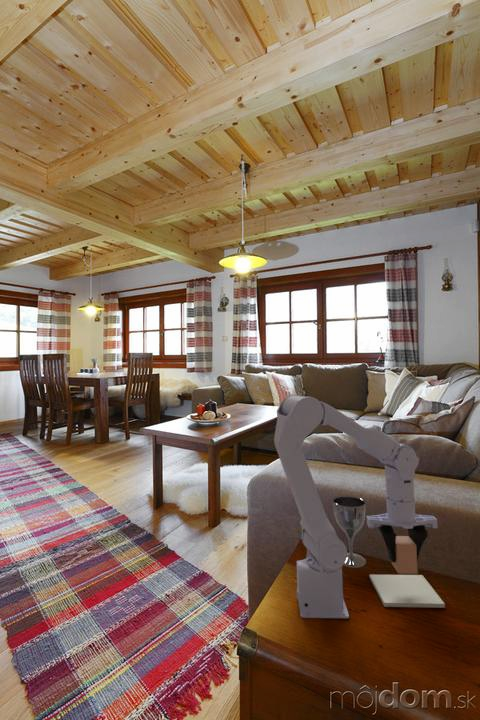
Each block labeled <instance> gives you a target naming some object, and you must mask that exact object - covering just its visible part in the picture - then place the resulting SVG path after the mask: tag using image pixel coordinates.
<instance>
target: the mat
mask: <svg viewBox="0 0 480 720" xmlns="http://www.w3.org/2000/svg"><path fill="white" fill-rule="evenodd" d="M369 579H370V581H371V584H372V586H373V587H374V589H375V591H376V593H377V595H378V597H379V599H380V600H381V603H382V605H383V606H384V608H385V607H386V608H390V607H391V608H437V609H438V608H439V609H440V608H443V609H445V608H446V604H445V602H444V601H443V599H441V597H440V595H438V593H437V592H436V590H434V588H433V587H432V585H431V584H430V583H429V582H428V580H427V579H426V577H424V575H422V574H369Z"/></svg>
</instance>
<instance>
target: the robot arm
mask: <svg viewBox="0 0 480 720" xmlns="http://www.w3.org/2000/svg"><path fill="white" fill-rule="evenodd" d="M276 415H277V417H276V418H277V419H276V423H275V432H274V439H273V442H274V443H273V444H274V446H275V449H276V452H277V455H278V457H279V460H280V463H281V466H282V469H283V471H284V474H285V477H286V479H287V482H288V485H289V488H290V491H291V493H292V496H293V499H294V502H295V505H296V507H297V509H298V513H299V515H300V518H301V519H300V521H299V523H300V527H301V541H302V544H303V546H304V547H305V548H306V556H305V558H304V559H300V560H296V585H297V586H296V587H297V588H296V590H295V591H296V599H297V601H298V607H299V614H300V615H299V616H300V617H301V618H304V619H309V618H310V619H347V620H348V619H349V618H350V614H349V611H348V608H347V605H346V603H345V600H344V591H343V590H344V589H343V585H344V584H343V569H342V568H343V566H344V563H345V562H346V559H347V553H348V549H347V546H346V545H345V543H344V542H343V541H342V540H341V539H340V538H339V537H338V535H337V533H336V532H337V531H336V530H335V529H334V528H335V527H334V526H333V525H332V524H331V522H330V520H329V518H328V517H327V515H326V514H327V513H326V512H325V509H324V506H323V503H322V500H321V498H320V495H319V493H318V489H317V487H316V484H315V482H314V481H315V480H314V478H313V476H312V473H311V471H310V468H309V467H310V466H309V464H308V462H307V458H306V456H305V454H304V450H303V447H302V445H303V443H304V442H305V440H306V438H307V437H308V436H309V435H310V434H311V433H312V432H313V431H315V429H316V428H317V427H318V426H319V425H320V426H327V425H328V426H331V427H332V428H334V429H336V430H338V431H339V432H340V433H341V432H342V433H343V434H345V435H347V436H348V437H350V438H352V439H354V441H355V445H356V447H357V448H358V449H359V450H362V451H363V452H364V453H367V454H368V455H370V456H372V457H373V458H376V459H377V460H379V462H380V463H381V464H382V465H384V475H385V476H384V478H385V479H384V480H385V481H384V482H385V500H386V501H385V502H386V513H381V514H376V515H375V514H374V515H365V519H366V526H367V527H368V528H369V529H374V528H378V530H379V531H380V533H381V535H382V538H383V540H384V543H385V545H386V549H387V552H388V557H389V559H390V561H392V562H396V552H395V541H396V536H397V534H396V533H395V532H394V528H403V529H406V530H407V532H408V536H409V537H410V538H411V540H412V541H413V542H414V543H415V544H416V550H417V563H418V561H419V556H420V552H421V549H422V547H423V544H424V542H425V540H426V539H427V538H428V534H429V533H428V531H427V530H426V528H431V529H438V526H439V525H438V519H437V518H436V517H435V516H434V515H425V514H417V513H416V503H415V501H416V500H415V483H414V479H415V477H416V473H415V472H416V469H417V467H418V466H419V462H420V457H418V456H417V453H416V451H415V449H414V448H413V447H412V446H410V445H407V444H404V443H401V442H399V438H398V437H396V436H394V435H393V436H390V435H388V434H387V433H385V432H383V431H382V427H381V426H379V425H377V424H373V425H372V424H367V425H361V424H359V423H358V422H356V421H355V420H353V419H352V418H350V417H348V416H347V415H346V414H344V413H342V412H341V411H339V410H338V409H336V408H335V407H333V406H331V405H330V404H328V403H326V402H324V401H321V400H320V401H319V400H318V399H317V398H315V397H313V396H301V395H298V394H289V395H288V396H286V397H285V398H284V399H283V400H282V401H281V402H280V404H279V406H278V408H277V409H276Z"/></svg>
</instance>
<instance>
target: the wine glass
mask: <svg viewBox="0 0 480 720" xmlns="http://www.w3.org/2000/svg"><path fill="white" fill-rule="evenodd" d="M332 501H333V503H332V505H333V513H334V517H335V521H336V523H337V525H338V526H339V528H341V530H342V531H343V533H345V535H346V537H347V539H348V547H349V552H347V559H346V562H345V563H344V565H343V566H344V567H347V568H351V569H352V568H353V569H358V568H359V569H360V568H363V567H364V566H366V564H367V561H366V558H364V557H363V556H362V555H360V554H357V553H354V552H353V544H354V537H355V536H356V534H357V533H358V532H359V531H360V530H361V528H362V527H363V526H364V523H365V519H366V501H365V500H364V499H362V498H361V497H358V496H352V495H340V496H336V497H334V498H333V500H332Z"/></svg>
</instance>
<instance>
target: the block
mask: <svg viewBox="0 0 480 720" xmlns="http://www.w3.org/2000/svg"><path fill="white" fill-rule="evenodd" d="M395 552H396V562H392V561H391V560H390V561H391V565H392V566H393V568H395V571H396V573H397V575H419V574H418V573H419V572H418V570H419V569H418V562H417V550H416V544H415V543H414V542H413V541H412V540H411V538H410V537H409V535H396V541H395Z"/></svg>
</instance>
